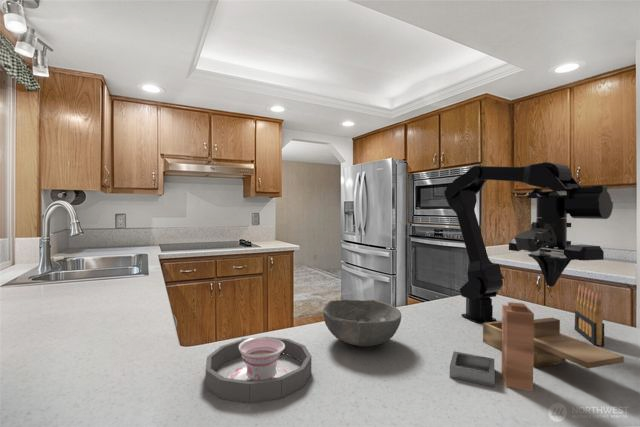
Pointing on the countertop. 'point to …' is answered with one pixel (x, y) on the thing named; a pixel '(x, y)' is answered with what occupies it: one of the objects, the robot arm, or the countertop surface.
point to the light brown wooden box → (540, 356)
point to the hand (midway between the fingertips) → (550, 286)
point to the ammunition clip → (589, 316)
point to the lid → (571, 346)
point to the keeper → (473, 374)
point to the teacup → (260, 359)
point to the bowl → (361, 321)
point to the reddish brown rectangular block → (517, 346)
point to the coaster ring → (259, 388)
